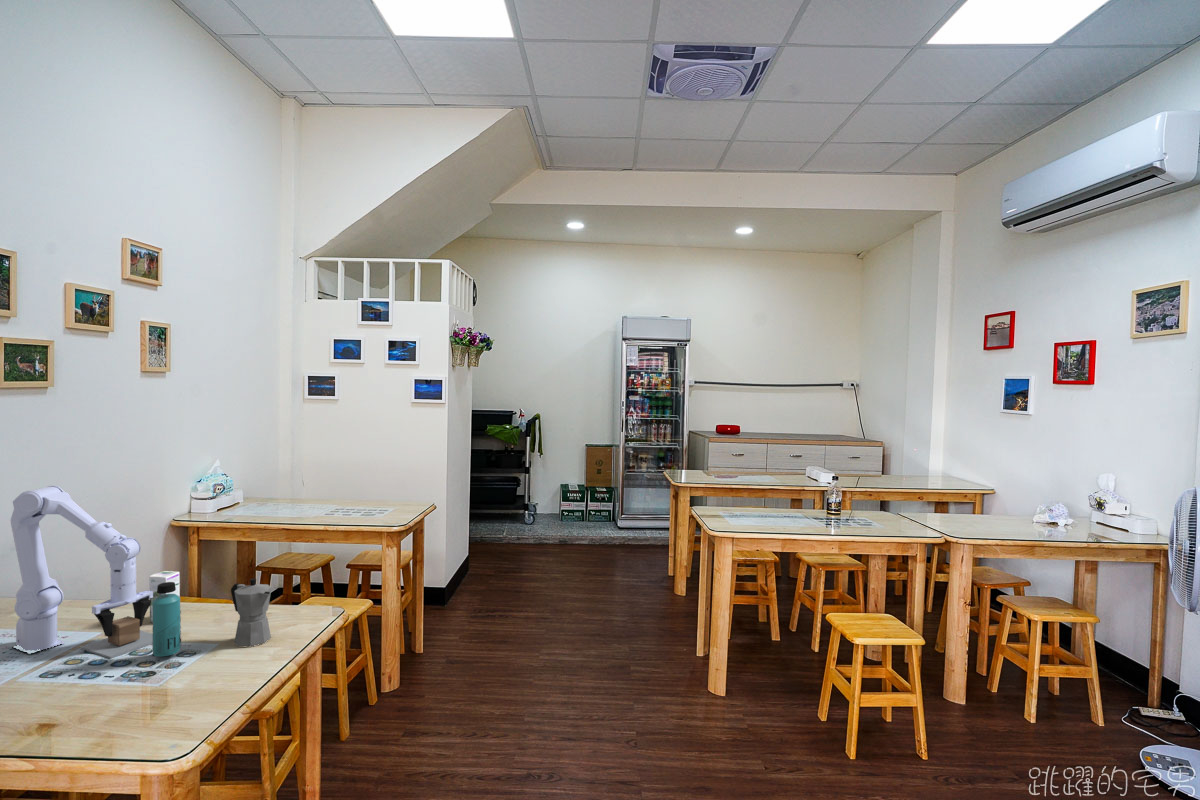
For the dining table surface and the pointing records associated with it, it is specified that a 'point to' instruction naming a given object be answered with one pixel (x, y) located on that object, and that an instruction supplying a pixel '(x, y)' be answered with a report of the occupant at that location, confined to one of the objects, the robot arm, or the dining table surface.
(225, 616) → the dining table surface
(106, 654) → the flat grey base plate
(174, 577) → the syrup box
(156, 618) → the beverage bottle
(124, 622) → the brown shipping carton
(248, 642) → the coffeepot
